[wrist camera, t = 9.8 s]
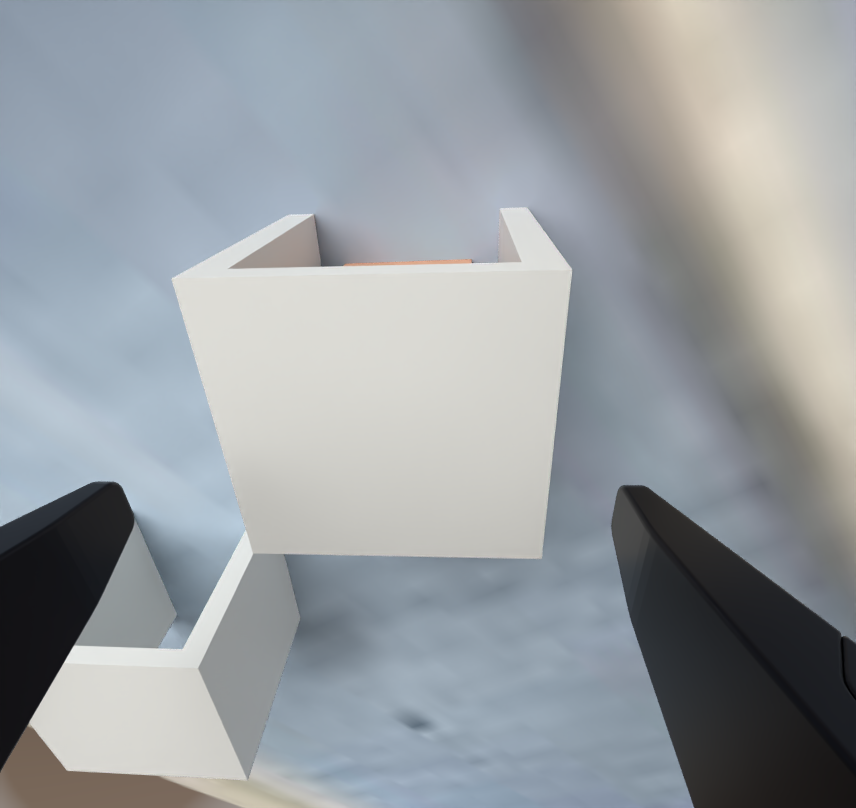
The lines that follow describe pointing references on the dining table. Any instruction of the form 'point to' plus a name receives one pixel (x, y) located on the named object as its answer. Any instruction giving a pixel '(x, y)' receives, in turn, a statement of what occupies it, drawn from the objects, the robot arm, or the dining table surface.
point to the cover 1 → (173, 673)
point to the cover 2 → (383, 392)
